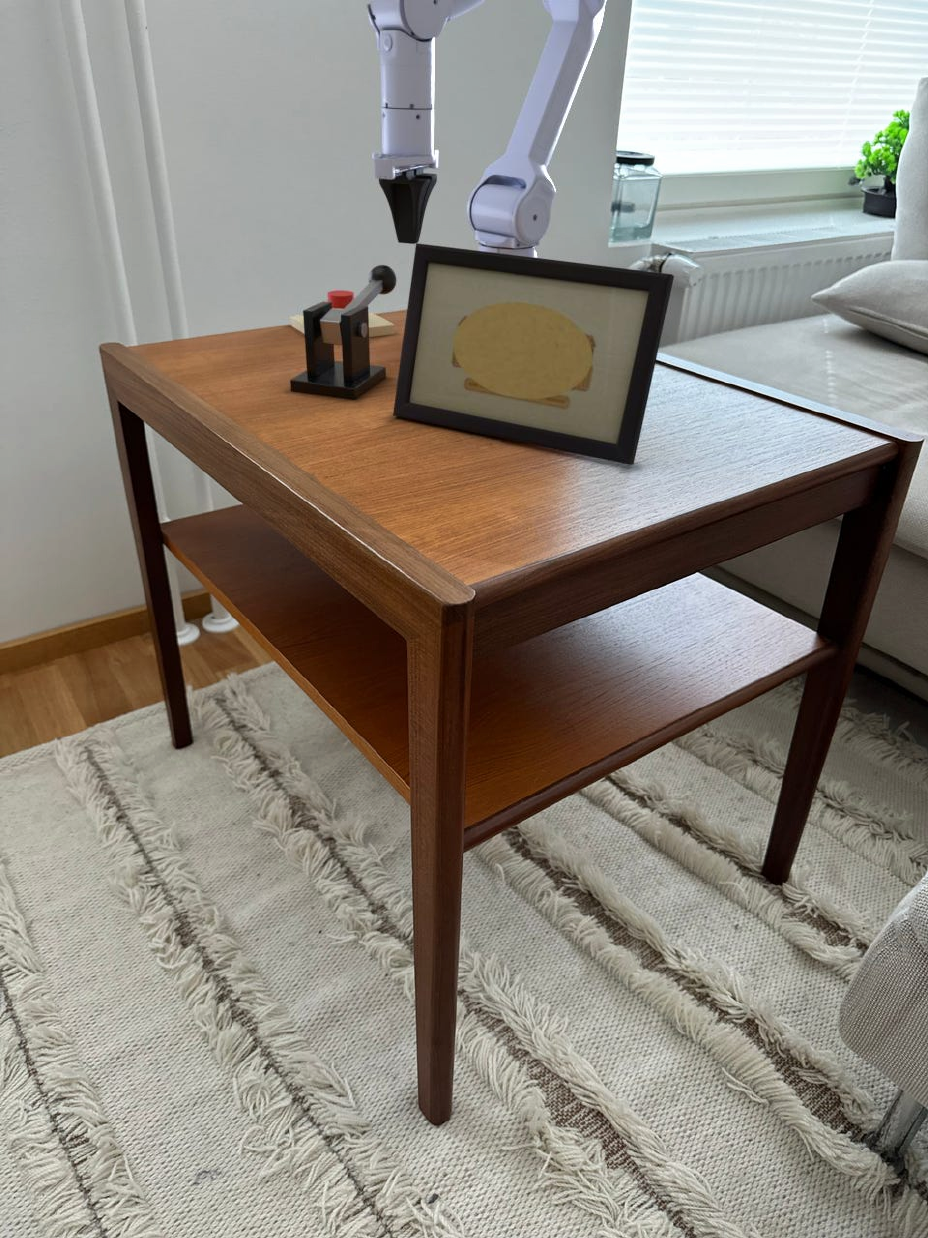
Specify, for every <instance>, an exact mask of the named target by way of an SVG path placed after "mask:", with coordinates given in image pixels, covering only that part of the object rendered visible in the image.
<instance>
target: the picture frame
mask: <svg viewBox="0 0 928 1238" xmlns="http://www.w3.org/2000/svg"><path fill="white" fill-rule="evenodd" d="M674 278H675V275H674V274H672V273H665V272H658V271H649V270H640V269H633V268H623V267H615V266H606V265H600V264H591V263H590V264H589V263H582V262H575V261H565V260H557V259H550V258H541V257H537V258H534V257H526V256H517V255H509V254H501V253H493V252H485V251H478V250H477V249H476V250H475V249H467V248H461V247H460V248H459V247H450V246H442V245H436V244H435V245H433V244H425V243H420V242H418V243H415V248H414V255H413V262H412V270H411V278H410V286H409V292H408V300H407V308H406V316H405V323H404V331H403V338H402V344H401V352H400V360H399V368H398V369H399V370H398V375H397V382H396V389H395V396H394V397H395V398H394V404H393V412H392V416H393V417H398V418H404V419H408V420H414V421H417V422H423V423H428V424H433V425H437V426H442V427H447V428H451V429H457V430H462V431H464V432H465V431H466V432H470V433H475V434H480V435H484V436H489V437H494V438H500V439H504V440H509V441H514V442H519V443H523V444H528V445H532V446H536V447H537V446H538V447H542V448H545V449H552V450H556V451H561V452H565V453H566V452H567V453H571V454H575V455H580V456H585V457H590V458H594V459H600V460H604V461H610V462H613V463H618V464H623V465H628V466H634V465H635V461H636V455H637V451H638V446H639V442H640V438H641V437H640V436H641V431H642V428H643V423H644V419H645V413H646V408H647V404H648V400H649V394H650V390H651V386H652V381H653V378H654V377H653V376H654V372H655V367H656V362H657V358H658V354H659V353H658V352H659V349H660V343H661V339H662V335H663V330H664V325H665V321H666V315H667V312H668V311H667V310H668V307H669V302H670V298H671V292H672V288H673V285H674V284H673V283H674Z"/></svg>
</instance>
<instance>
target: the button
mask: <svg viewBox="0 0 928 1238" xmlns="http://www.w3.org/2000/svg"><path fill="white" fill-rule="evenodd" d="M326 293H327V294H326V295H327V300H328V302H332V308H335V309H344V308H345V307H346V306H347V305H348V304H349V303H350V302H351V301H352V300H353V299H354V298H355V292H353V291H351V290H344V289H340V290H338V289H337V290H331V291H328V292H326Z"/></svg>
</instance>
